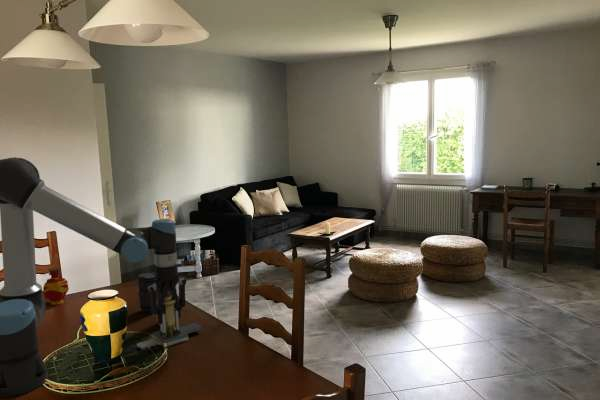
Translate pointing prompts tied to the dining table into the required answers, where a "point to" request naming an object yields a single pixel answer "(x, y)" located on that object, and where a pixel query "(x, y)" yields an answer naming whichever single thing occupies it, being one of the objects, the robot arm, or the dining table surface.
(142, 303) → the camera lens
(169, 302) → the pin
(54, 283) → the potion bottle
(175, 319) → the robot arm
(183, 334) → the dark grey flat piece
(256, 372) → the dining table surface
